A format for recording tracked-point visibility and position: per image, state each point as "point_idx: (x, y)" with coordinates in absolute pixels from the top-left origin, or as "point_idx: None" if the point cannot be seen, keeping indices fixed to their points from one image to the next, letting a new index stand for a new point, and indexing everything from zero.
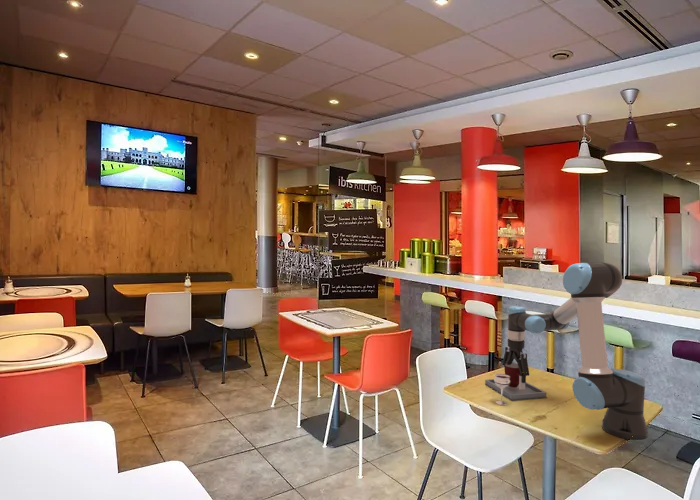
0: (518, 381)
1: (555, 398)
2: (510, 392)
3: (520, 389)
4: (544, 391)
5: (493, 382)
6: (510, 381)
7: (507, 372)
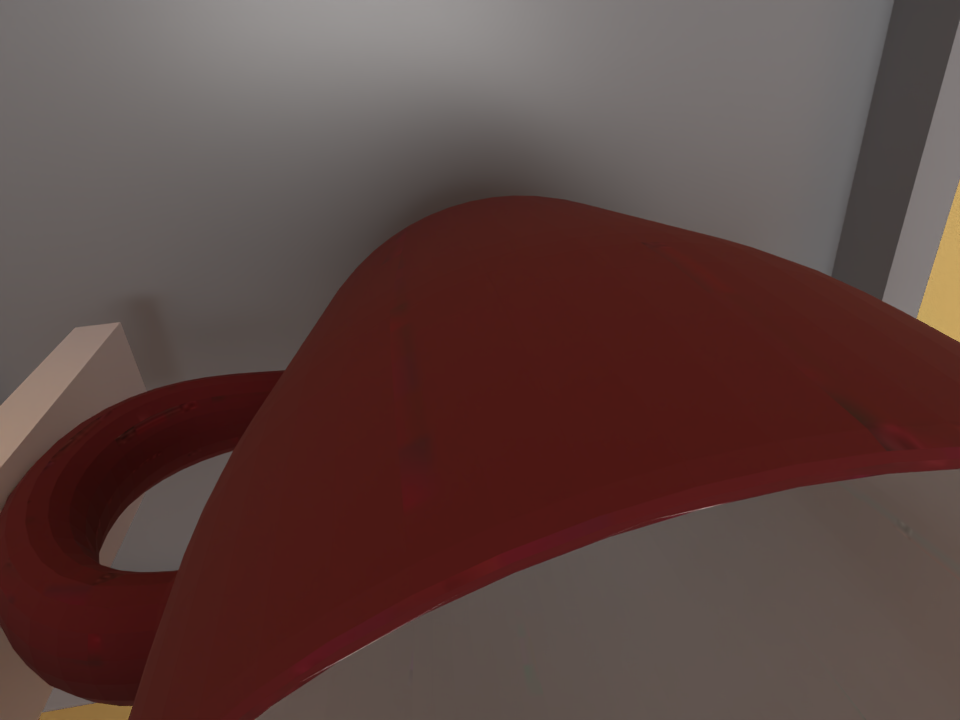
0: (92, 430)
1: (65, 716)
2: (212, 108)
3: (75, 341)
4: (79, 704)
5: (901, 20)
6: (372, 253)
7: (471, 271)
